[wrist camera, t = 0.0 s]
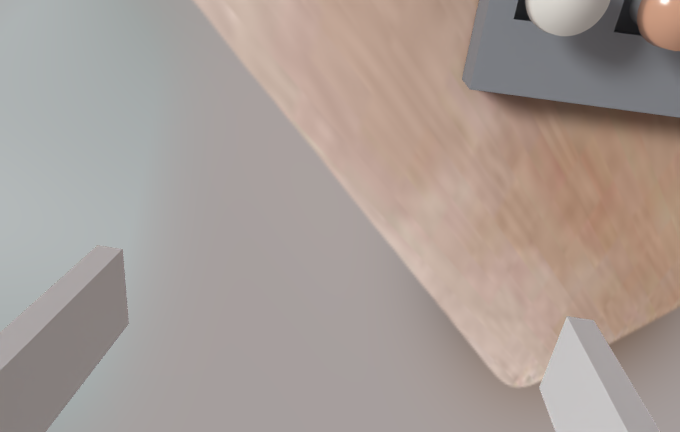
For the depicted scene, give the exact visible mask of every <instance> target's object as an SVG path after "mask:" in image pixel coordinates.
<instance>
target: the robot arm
mask: <svg viewBox="0 0 680 432" xmlns="http://www.w3.org/2000/svg"><path fill="white" fill-rule="evenodd" d="M128 324H129V322H128V309H127V298H126V285H125V273H124V261H123V250H122V249H118V248H112V247H105V246H96V247H95V248H94V249H93V250H92V251H91V252H89V253H88V254H87V255H86V256H85V257H84V258H83V259H82V260H81V261H79V262H78V263H77V264H76V265H75V266H74V267H73V268H72V269H71V270H70V271H68V272H67V273H66V274H65V275H64V276H63V277H62V278H60V279H59V280H58V281H57V282H56V283H55V284H54V285H53V286H51V287H50V288H49V289H48V290H47V291H46V292H45V293H44V294H43V295H42V296H40V297H39V298H38V299H37V300H36V301H35V302H34V303H32V304H31V305H30V306H29V307H28V308H27V309H26V310H25V311H24V312H22V313H21V314H20V315H19V316H18V317H17V318H16V319H15V320H13V322H11V323H10V324H9V325H8V326H7V327H6V328H5V329H4V330H2V331H1V332H0V432H46V431H47V429H48V428H49V427H50V425H51V424H52V423H53V421H54V420H55V419H56V418H57V416H58V415H59V414H60V412H61V411H62V410H63V408H64V407H65V406H66V405H67V403H68V402H69V401H70V399H71V398H72V397H73V395H74V394H75V393H76V391H77V390H78V389H79V388H80V386H81V385H82V384H83V382H84V381H85V380H86V378H87V377H88V376H89V375H90V373H91V372H92V371H93V369H94V368H95V366H96V365H97V364H98V363H99V362H100V360H101V359H102V358H103V356H104V355H105V354H106V352H107V351H108V350H109V349H110V347H111V346H112V345H113V343H114V342H115V341H116V340H117V338H118V337H119V335H120V334H121V333H122V332H123V330H124V329H125V328H126V327H127V325H128ZM539 388H540V391H541V394H542V396H543V399H544V402H545V405H546V407H547V410H548V413H549V415H550V418H551V421H552V424H553V426H554V429H555V432H661V431H660V430H659V428H658V426H657V425H656V423H655V421H654V420H653V418H652V416H651V415H650V413H649V411H648V410H647V408H646V406H645V405H644V403H643V401H642V400H641V398H640V396H639V395H638V393H637V391H636V390H635V388H634V386H633V385H632V383H631V381H630V380H629V378H628V376H627V375H626V373H625V371H624V370H623V368H622V366H621V365H620V363H619V361H618V360H617V358H616V356H615V355H614V353H613V351H612V350H611V348H610V346H609V345H608V343H607V341H606V340H605V338H604V336H603V335H602V333H601V331H600V330H599V328H598V327H597V325H596V323H595V322H594V320H589V319H582V318H575V317H569V316H567V317H566V320H565V323H564V325H563V328H562V330H561V333H560V336H559V338H558V341H557V343H556V346H555V349H554V351H553V354H552V356H551V359H550V361H549V364H548V367H547V369H546V372H545V374H544V377H543V380H542V382H541V385H540V387H539Z"/></svg>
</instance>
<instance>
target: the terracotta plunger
mask: <svg viewBox="0 0 680 432" xmlns="http://www.w3.org/2000/svg"><path fill="white" fill-rule="evenodd" d="M629 16H630V18H631V20H632V21H633V22H634V23H635V24H637V25H638V29H639V31H640V34H641V35H642V37H643V38H644V39H645V40H646V41H647V42H648V43H650V44H652V45H653V46H656V47H660V48H664V49H668V50H673V51H680V0H632V1H631V3H630V6H629Z"/></svg>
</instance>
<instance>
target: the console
mask: <svg viewBox="0 0 680 432" xmlns="http://www.w3.org/2000/svg"><path fill="white" fill-rule="evenodd" d="M631 1H632V0H610V3H609V6H608V8H607V10H606V11H605V13H604V14H603V16H602V17H601V18H600V20H599V21H598V22H597V23H596V24H595V25H593V26H592V27H591V28H589V29H588V30H586V31H584V32H582V33H580V34H577V35H573V36H557V35H554V34H550V33H547V32H545V31H542V30H540V29H539V28H538V27H536V26H535V25H534V24H533V23H532V21H531V20H530V18H529V16H528V14H527V11H526V4H525V0H479V4H478V8H477V13H476V18H475V22H474V27H473V31H472V36H471V41H470V45H469V50H468V54H467V59H466V64H465V68H464V73H463V77H462V80H463V81H464V82H465V84H466V85H467V86H468V88H469V89H472V90H479V91H487V92H494V93H502V94H509V95H516V96H524V97H531V98H539V99H546V100H553V101H561V102H568V103H576V104H583V105H590V106H598V107H605V108H613V109H620V110H627V111H635V112H642V113H650V114H657V115H665V116H672V117H679V118H680V51H673V50H668V49H664V48H660V47H656V46H653V45H652V44H650V43H648V42H647V41H646V40H645V39H644V38H643V37H642V35H641V34H640V31H639V29H638V25H637V24H635V23H634V22H633V21H632V20H631V18H630V16H629V6H630V3H631Z"/></svg>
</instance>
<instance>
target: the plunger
mask: <svg viewBox="0 0 680 432" xmlns="http://www.w3.org/2000/svg"><path fill="white" fill-rule="evenodd" d="M609 3H610V0H525V4H526V11H527V14H528V16H529V18H530V20H531V21H532V23H533V24H534V25H535V26H536V27H538V28H539V29H540V30H542V31H545V32H547V33H550V34H554V35H557V36H573V35H577V34H580V33H582V32H584V31H586V30H588V29H589V28H591V27H592V26H593V25H595V24H596V23H597V22H598V21H599V20H600V18H601V17H602V16H603V14H604V13H605V11H606V10H607V8H608V6H609Z"/></svg>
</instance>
